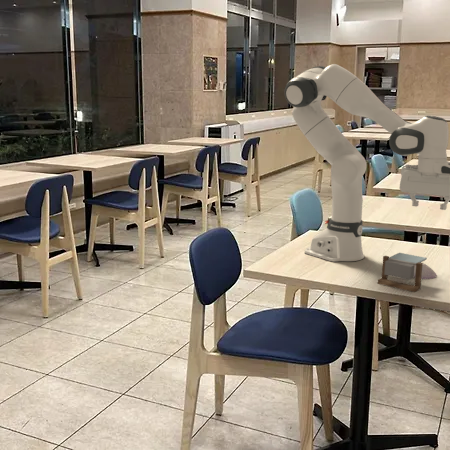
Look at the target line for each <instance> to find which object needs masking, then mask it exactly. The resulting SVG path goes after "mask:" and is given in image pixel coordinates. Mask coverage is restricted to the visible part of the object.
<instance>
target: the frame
mask: <svg viewBox="0 0 450 450" xmlns="http://www.w3.org/2000/svg"><path fill="white" fill-rule="evenodd" d="M389 257H390V256H388V255H384V256H383V257H382V270H381V278H379V279H377V284H379V285H383V286H386V285H387V287H390V288H395V287H396V288H395V289H400V290H404V291H408V292H412V293H416V292H417V291H419V290H421V285H422V279H421V275H422V264H423V262H421V263H419V262H418V263H416V274H415V278H414V284H410V283H405V282H401V281H396V280H392V279H388V276H389V275H384V273H385V261H387V260H388V258H389Z"/></svg>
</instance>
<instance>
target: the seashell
mask: <svg viewBox="0 0 450 450" xmlns="http://www.w3.org/2000/svg"><path fill="white" fill-rule="evenodd" d="M422 263H423V262H422ZM415 274H416V265H414V277H413V279H415ZM436 277H437V273H436V272H435V270H434V269H433V268H432V267H430V266H429V265H427V264H426V263H423V264H422V275H421V280H425V279H426V280H430V279H431V280H432V279H435V278H436Z"/></svg>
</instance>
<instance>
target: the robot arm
mask: <svg viewBox="0 0 450 450" xmlns="http://www.w3.org/2000/svg"><path fill="white" fill-rule="evenodd" d="M284 98H285V100H286V102H287V103H288V104H289V105H290V106H292V107H293V108H292V112H291V115H292V118H293V120H294V122H295V123H296V125H297V127H298V128H299V130H300V131H301V133H302V134H303V136H304V137H305V138H306V140H307V141H308V143H310V145H311V146H312V147H313V148H314V150H315V152H317V153H318V154H319V155H320V156H321V157H322V158H323V159H324V160H325V161H326V162H327V163H329V164H330V166H331V168H330V178H331V179H330V183H331V185H330V188H331V197H332V198H331V200H332V201H331V216H330V217H331V218H328V219H327V220H325V221H324V225H327V226H326V228H324V229H323V230H320V231H319V232H318V233H317V234H315V235H314V236H313V237H312V239H311V241H310V246H308V247H306V248H304V254H306V255H310V256H313V257H316V258H320V259H323V260H326V261H329V262H333V263H335V262H355V261H356V262H357V261H360V260H362V259H364V258H365V256H364V255H365V254H364V251H363V246H362V234H363V227H364V226H363V223H364V221H363V219H362V216H363V202H364V199H363V177H364V174H365V173H366V171H367V160H366V159H365V157H364V156H363V155H362V153H361V152H360V151H359V150H358V149H357V148H356V147H355V146H354V145H353V144H352V143H351V141H350V140H349V139H348V138H347V137H346V136H345V135H344V134H343V133H342V132H341V130H340V129H339V128H338V126H337V125H336V124H335V123H334V122H333V120H332V119H331V118H330V116H329V115H328V114H327V113H326V112H325V110H324V108H323V107H322V101H325V100H326V99H327V98H329V99H330V100H331V101H333V103H335V104H336V105H337V106H338V107H339V108H341V109H342V110H343V111H346V112H347V113H348V114H350V115H353V116H358V117H361V118H362V117H363V118H366V119H370V120H371V121H373V122H375V123H377V125H379V126H380V127H382V128H383V129H384V130H385V131H387V132H388V133H389V134H390V136H389V139H388V143H389V147H390V149H391V150H392V151H393V153H395V154H396V155H399V156H410V155H414V154H417V155H418V157H417V164H405V165H403V166H402V167H401V169H400V175H401V177H400V182H399V190H400V192H402V193H409V198H410V199H411V201H412V202H411V203H412V205H411V206H412V207H419V201H420V200H417V198H416V196H417V194H418V195H419V194H421V195H429V196H430V195H431V196H438V197H439V196H440V197H443V198H444V199H443V200H445V201H444V203H440V204H439V205H440V208H439V209H440V210H442V211H446V210H447V208H448V207H447V206H448V204H449V203H450V161H448V155H447V148H448V146H449V137H450V136H449V134H450V133H449V132H450V131H449V124H448V121H447V120H446V119H445V118H443V117H439V116H436V115H424V116H423V117H422V118H420V119H418V120H416V121H414V122H410V121H407V120H405V119H404V118H402V117H401V116H400V115H398V114H397V113H396V112H394V111H393V110H392V109H391V108H389V107H388V106H387V105H386V104H385V103H384V102H382V101H381V100H380V98H379V97H378V96H377V95H376V94H375V93H374V92H373V91H372V89H370V87H368V85H366V83H365V82H363V81H362V80H361V79H360V78H359V77H358V76H356V75H355V74H354V73H352V72H351V71H349V70H348V69H346V68H344V67H343V66H340V65H339V64H336V63H332V64H330V65H327V66H323V65H317V66H314V67H312V68H310V69H306V70H304V71H302V72H301V73H299V74H298V75H296V76H295V77H293V78H291V79H290V80H289V81H288V82H287V83H286V85H285V88H284Z"/></svg>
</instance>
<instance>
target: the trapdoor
mask: <svg viewBox="0 0 450 450" xmlns="http://www.w3.org/2000/svg"><path fill="white" fill-rule="evenodd" d="M426 260H427V257H423V256H418V255H414V254H408V253H403V252H397V253H396V254H393V255H391V256H389V258H388V260H387V261H385V273H384V275H388V276H390V277H394V278H398V279H403V280H407V281H411V280H412V279H414V265H416V263H418V262H419V263H423V262H424V261H426Z"/></svg>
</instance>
